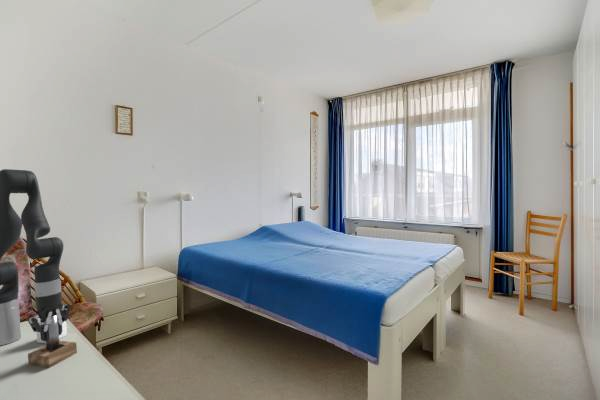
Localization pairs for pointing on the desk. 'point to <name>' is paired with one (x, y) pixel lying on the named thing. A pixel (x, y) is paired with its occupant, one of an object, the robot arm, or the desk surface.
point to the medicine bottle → (64, 333)
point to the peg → (53, 334)
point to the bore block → (52, 354)
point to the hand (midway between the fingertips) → (52, 337)
